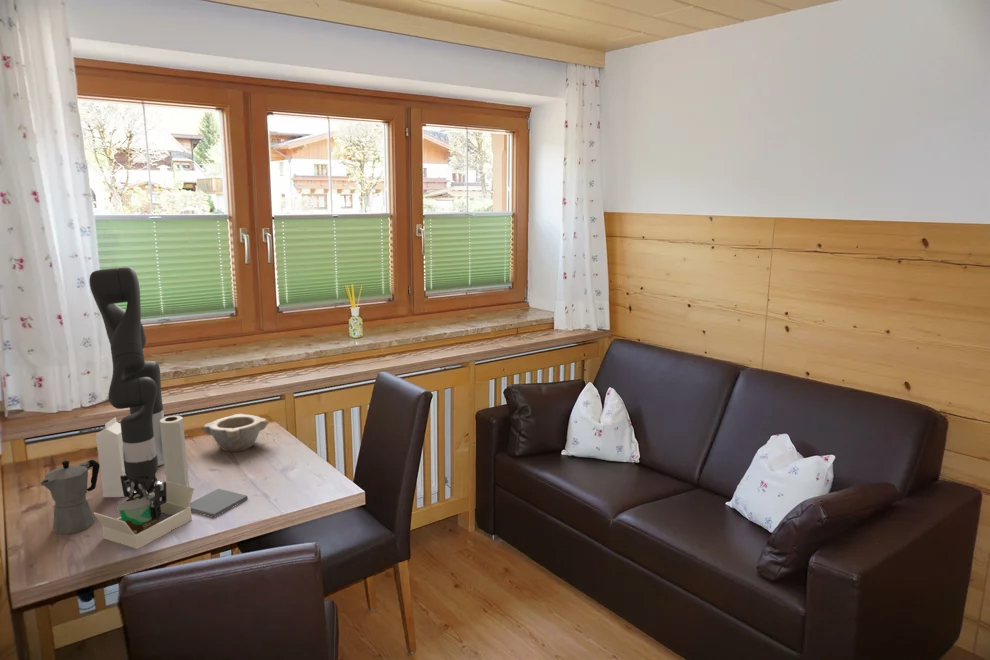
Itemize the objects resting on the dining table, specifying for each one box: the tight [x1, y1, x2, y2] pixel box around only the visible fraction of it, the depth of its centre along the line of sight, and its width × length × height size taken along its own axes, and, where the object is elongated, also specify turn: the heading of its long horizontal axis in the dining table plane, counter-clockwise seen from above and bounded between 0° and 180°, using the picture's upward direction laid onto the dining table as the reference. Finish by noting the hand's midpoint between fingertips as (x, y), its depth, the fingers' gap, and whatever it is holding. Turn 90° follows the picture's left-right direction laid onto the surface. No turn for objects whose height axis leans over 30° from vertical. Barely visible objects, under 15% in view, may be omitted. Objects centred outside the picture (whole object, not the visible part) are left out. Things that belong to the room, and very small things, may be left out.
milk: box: [95, 417, 130, 498], centre depth 190 cm, size 6×6×22 cm
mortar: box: [202, 413, 269, 453], centre depth 226 cm, size 17×17×9 cm
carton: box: [93, 480, 195, 550], centre depth 171 cm, size 12×20×8 cm, turn 156°
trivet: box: [189, 488, 249, 518], centre depth 186 cm, size 11×12×1 cm
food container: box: [116, 490, 161, 534], centre depth 171 cm, size 12×6×10 cm, turn 168°
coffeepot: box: [40, 459, 100, 535], centre depth 173 cm, size 15×9×18 cm, turn 159°
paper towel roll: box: [160, 415, 190, 487], centre depth 193 cm, size 7×6×21 cm
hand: (146, 515), depth 171 cm, fingers closed on food container, 6 cm apart
